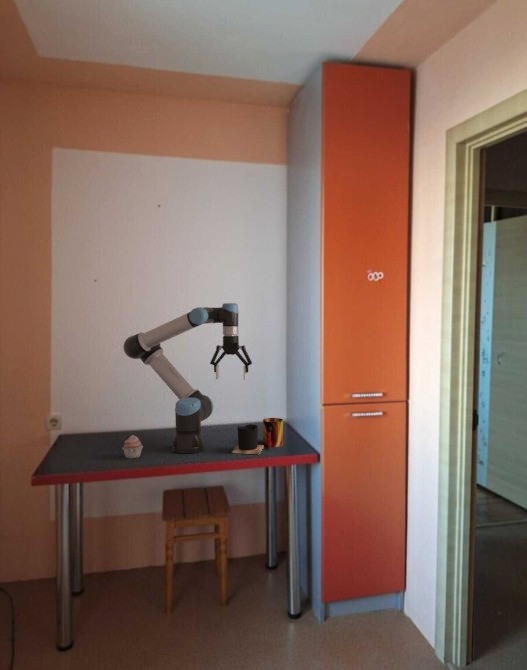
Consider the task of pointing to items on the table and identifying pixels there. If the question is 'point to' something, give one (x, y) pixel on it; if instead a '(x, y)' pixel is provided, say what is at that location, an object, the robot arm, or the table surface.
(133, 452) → the cupcake
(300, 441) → the table surface
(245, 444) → the pen holder
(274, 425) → the mug
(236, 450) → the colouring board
